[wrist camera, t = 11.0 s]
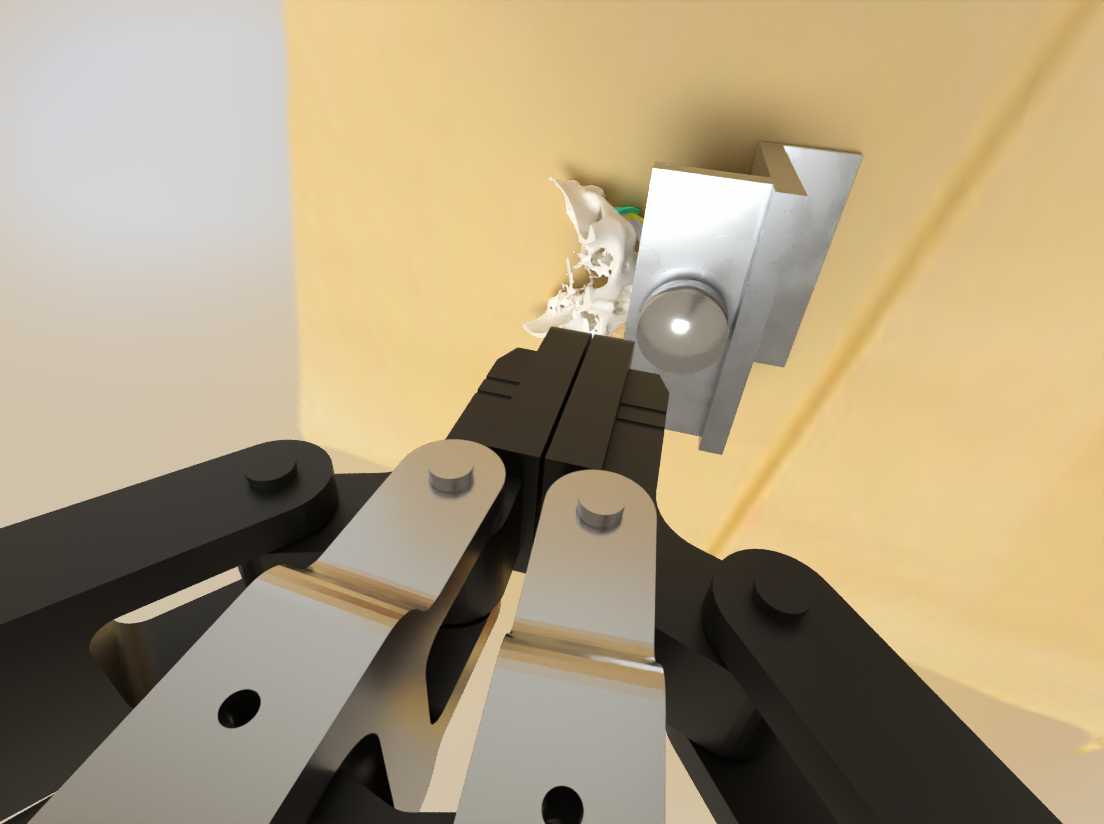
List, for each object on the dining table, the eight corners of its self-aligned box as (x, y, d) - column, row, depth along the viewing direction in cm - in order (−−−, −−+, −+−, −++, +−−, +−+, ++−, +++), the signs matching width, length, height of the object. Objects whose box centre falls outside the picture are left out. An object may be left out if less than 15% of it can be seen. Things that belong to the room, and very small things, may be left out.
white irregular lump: (676, 370, 46) (577, 387, 41) (615, 317, 51) (522, 326, 47) (731, 223, 39) (620, 223, 34) (654, 181, 44) (549, 176, 40)
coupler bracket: (669, 129, 39) (648, 176, 27) (860, 153, 37) (924, 215, 25) (632, 335, 48) (605, 435, 37) (783, 362, 46) (804, 476, 35)
